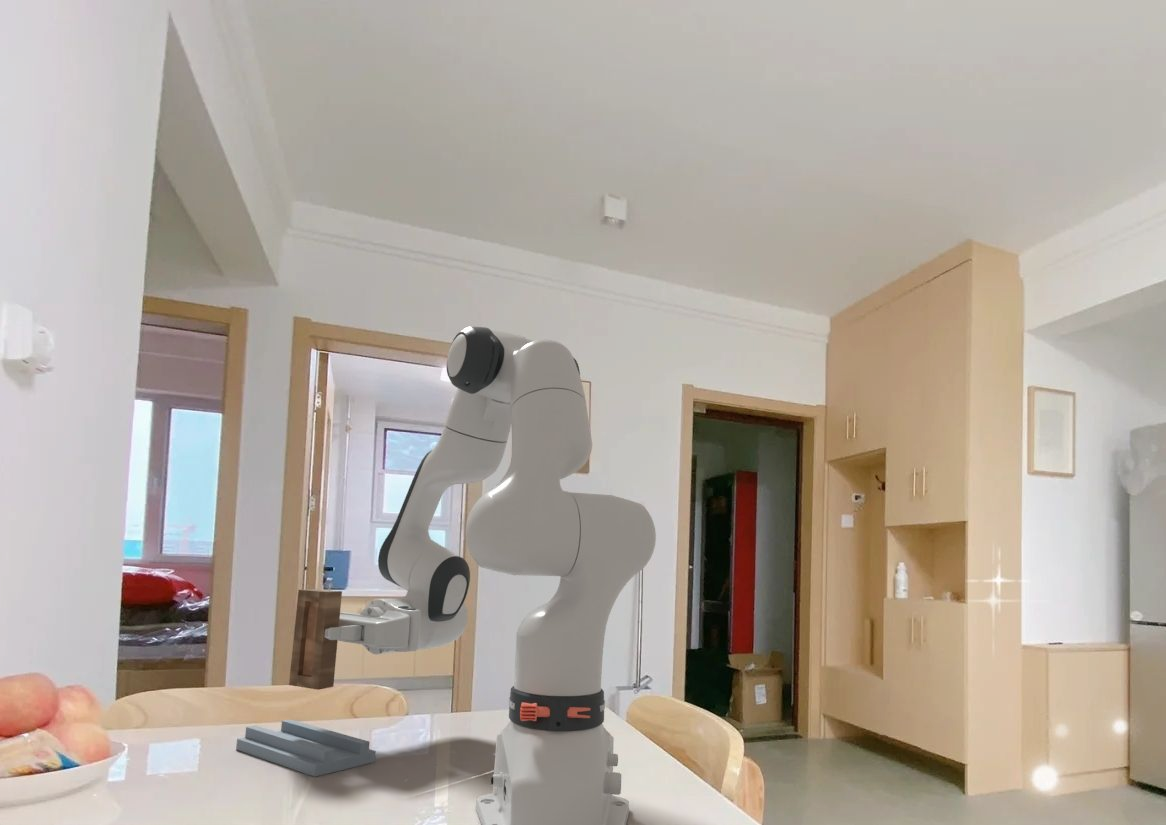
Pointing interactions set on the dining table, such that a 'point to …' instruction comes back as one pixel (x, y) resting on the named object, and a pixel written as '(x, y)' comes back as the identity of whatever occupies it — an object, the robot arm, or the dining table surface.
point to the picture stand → (306, 748)
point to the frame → (314, 639)
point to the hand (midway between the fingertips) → (311, 631)
